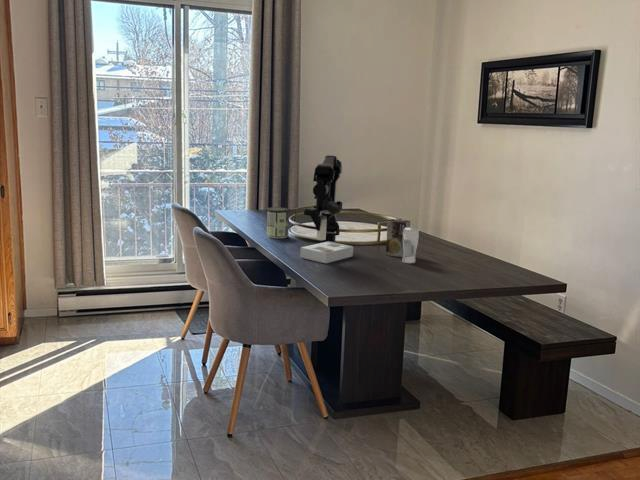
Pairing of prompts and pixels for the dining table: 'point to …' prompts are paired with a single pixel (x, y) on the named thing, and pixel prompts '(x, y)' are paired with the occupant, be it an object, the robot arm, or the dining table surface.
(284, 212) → the coffee can
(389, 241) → the coffee box
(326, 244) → the port box
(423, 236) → the dining table surface
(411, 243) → the beer glass
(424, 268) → the dining table surface
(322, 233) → the plug
